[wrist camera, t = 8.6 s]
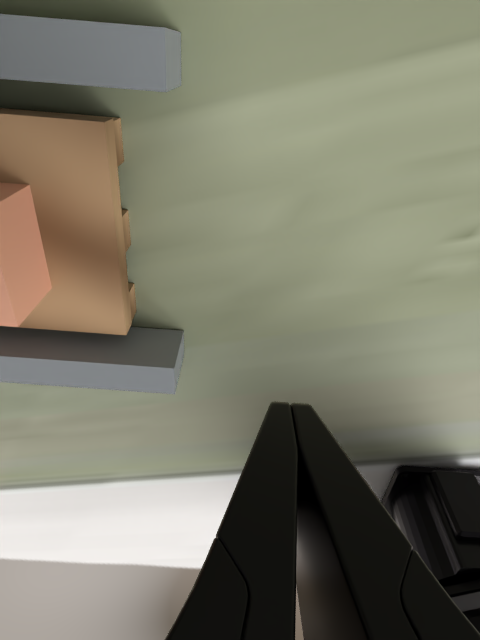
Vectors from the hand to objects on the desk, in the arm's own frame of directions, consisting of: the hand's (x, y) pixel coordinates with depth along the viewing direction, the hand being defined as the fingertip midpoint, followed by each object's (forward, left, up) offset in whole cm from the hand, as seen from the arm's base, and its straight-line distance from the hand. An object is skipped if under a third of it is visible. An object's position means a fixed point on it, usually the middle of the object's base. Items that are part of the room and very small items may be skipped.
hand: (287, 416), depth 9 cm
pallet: (0, +11, -11) cm, 15 cm away
